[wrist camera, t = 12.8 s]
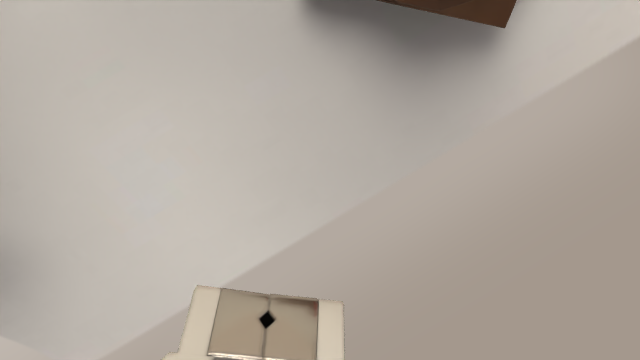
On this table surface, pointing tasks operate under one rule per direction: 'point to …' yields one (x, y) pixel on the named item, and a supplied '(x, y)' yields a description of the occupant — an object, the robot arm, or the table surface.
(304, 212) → the table surface
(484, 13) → the button block
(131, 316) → the table surface
